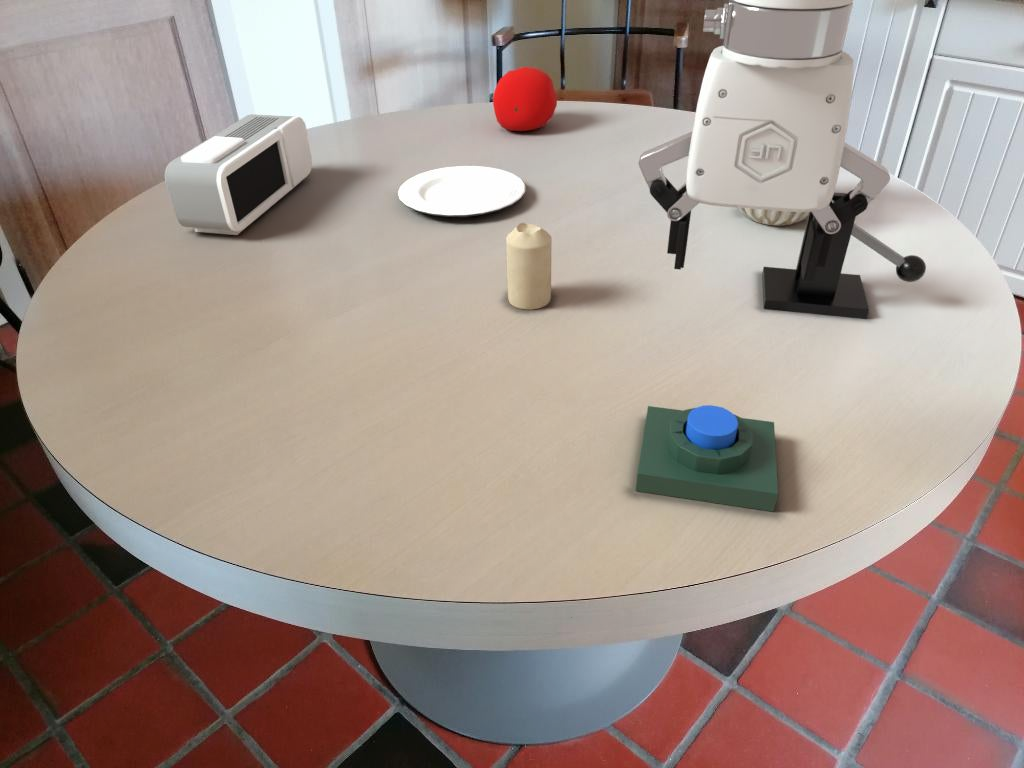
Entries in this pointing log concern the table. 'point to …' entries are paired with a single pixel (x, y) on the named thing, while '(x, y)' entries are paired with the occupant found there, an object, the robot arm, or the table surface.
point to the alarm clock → (238, 173)
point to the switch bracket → (818, 282)
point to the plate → (461, 191)
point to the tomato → (524, 99)
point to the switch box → (708, 462)
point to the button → (711, 427)
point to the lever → (893, 256)
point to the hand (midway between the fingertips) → (742, 267)
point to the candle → (529, 266)
